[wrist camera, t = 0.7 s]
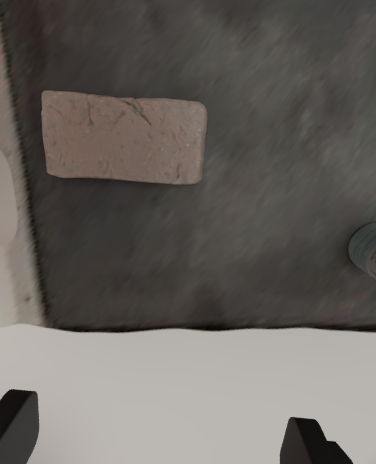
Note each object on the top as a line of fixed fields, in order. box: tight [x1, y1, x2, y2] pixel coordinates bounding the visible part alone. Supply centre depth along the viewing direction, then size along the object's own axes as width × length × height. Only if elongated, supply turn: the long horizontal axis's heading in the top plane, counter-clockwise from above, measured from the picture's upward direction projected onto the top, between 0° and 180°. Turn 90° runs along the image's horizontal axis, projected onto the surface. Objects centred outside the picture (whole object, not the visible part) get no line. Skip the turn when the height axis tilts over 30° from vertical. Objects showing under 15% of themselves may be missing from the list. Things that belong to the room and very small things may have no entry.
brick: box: [41, 91, 207, 185], centre depth 30 cm, size 17×8×5 cm, turn 87°
